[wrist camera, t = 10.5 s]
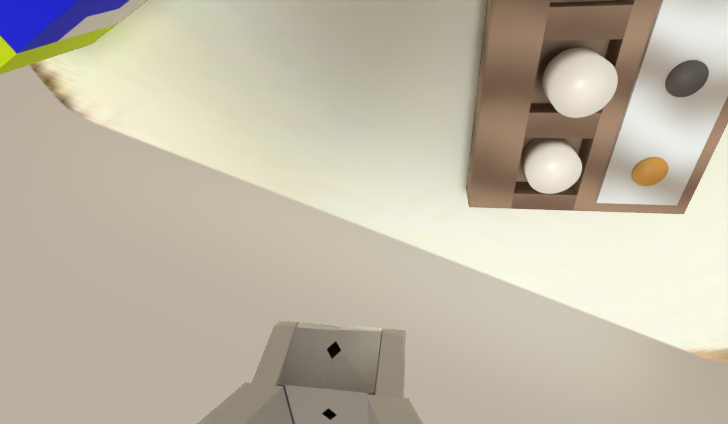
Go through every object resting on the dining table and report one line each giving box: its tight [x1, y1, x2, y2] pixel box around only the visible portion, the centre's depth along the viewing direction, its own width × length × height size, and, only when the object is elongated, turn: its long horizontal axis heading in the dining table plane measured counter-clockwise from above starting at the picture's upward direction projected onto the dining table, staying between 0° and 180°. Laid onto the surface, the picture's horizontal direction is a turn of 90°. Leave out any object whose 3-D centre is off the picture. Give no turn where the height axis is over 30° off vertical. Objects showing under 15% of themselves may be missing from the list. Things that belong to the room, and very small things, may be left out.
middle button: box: [542, 47, 618, 118], centre depth 27 cm, size 4×4×2 cm
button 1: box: [521, 138, 582, 194], centre depth 33 cm, size 4×4×2 cm
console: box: [466, 0, 728, 214], centre depth 29 cm, size 22×17×4 cm
